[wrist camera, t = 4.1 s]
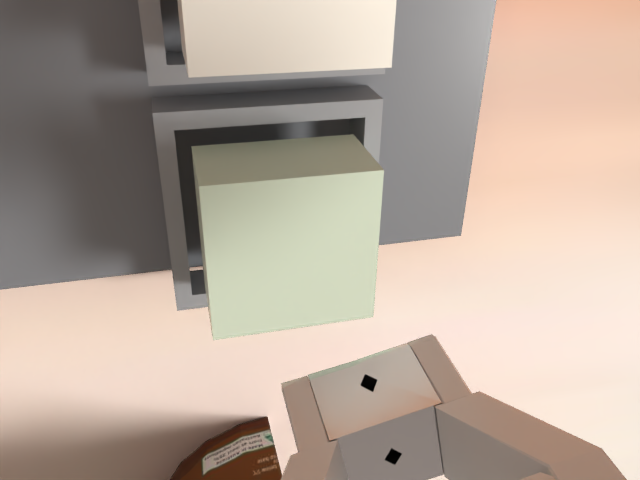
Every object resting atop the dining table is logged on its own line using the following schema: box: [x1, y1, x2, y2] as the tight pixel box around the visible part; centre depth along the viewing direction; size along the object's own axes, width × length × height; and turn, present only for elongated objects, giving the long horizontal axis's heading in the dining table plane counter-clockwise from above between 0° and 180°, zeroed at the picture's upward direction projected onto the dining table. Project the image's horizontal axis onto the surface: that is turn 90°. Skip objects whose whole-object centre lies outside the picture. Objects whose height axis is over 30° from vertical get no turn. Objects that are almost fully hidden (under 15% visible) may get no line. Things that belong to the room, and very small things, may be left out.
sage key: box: [191, 134, 384, 340], centre depth 17 cm, size 4×4×3 cm
